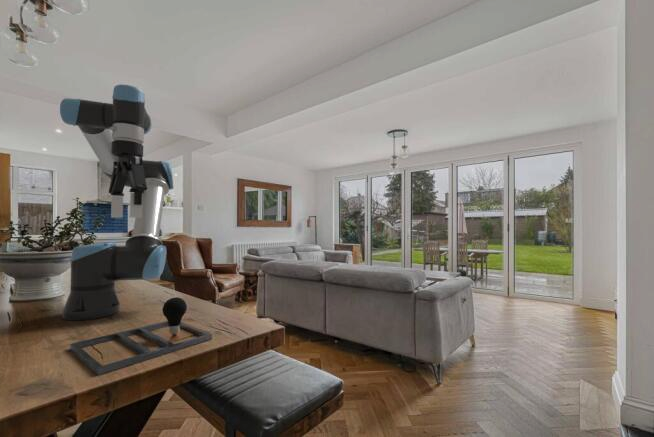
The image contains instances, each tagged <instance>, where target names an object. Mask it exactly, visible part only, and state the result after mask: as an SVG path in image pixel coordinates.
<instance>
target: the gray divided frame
mask: <svg viewBox="0 0 654 437" xmlns="http://www.w3.org/2000/svg"><path fill="white" fill-rule="evenodd" d="M166 327H169V324H168V320H165V321H162V322H161V321H160V322H157V323H154V324H149V325H145V326H141V327H136V328H132V329H128V330H124V331H119V332H115V333H110V334H106V335H101V336H98V337H94V338H93V337H92V338H90V339H86V340H81V341H78V342H73V343H70V344H69V350H70V351H71V352H72V353H73V354H74V355H75V356H76V357H77V358H79V360H81V362H83V363H84V364H85V365H86V366H87V367H88V368H90V370H91V371H93V373H95V374H96V375H97V376H101V375H103V374H106V373H110V372H112V371H116V370H120V369H122V368H125V367H129V366H131V365H134V364H137V363H141V362H144V361H146V360H147V361H148V360H150V359H153V358H156V357H159V356H162V355H166V354H169V353H172V352H175V351H179V350H181V349H185V348H188V347H190V346H194V345H198V344H202V343H205V342H206V341H210V340H213V334H212V333H211V332H207V331H205V330H203V329H200V328H197V327H196V326H193V325H191V324H188V323H185V322H183V321H181V323H180V326H179V332H178V333H177V334H176V335H172V334H171V333H169V330H168V331H165V332H160V333H158V334H157V333H156V334H155V333H153V332H151V331H154V330H156V329H157V330H158V329H161V328H166ZM138 334H139V335H141V336H143V337H145V338H146V339H148V340H150V341H152V342H153V343H155V344H158V345H159V346H161V348H157V349H154V350H150V349H149V348H147V347H145V346H144V345H142V344H140V343H139V342H137V341H135V340H134V339H132V338H131V337H129V336H133V335H138ZM194 335H196V336H197V337H194V338H193V337H192V336H194ZM189 337H192V338H190V339H187V340H184V341H181V342H178V343H177V342H176V343H173V342H175V341H179V340H181V339H184V338H189ZM113 340H118V341H120V342H121V343H122V344H125V346H128V347H129V348H131V349H132V350H134V351H136V352H137V353H138V355H134V356H132V357H127V358H124V359H121V360H118V361H117V360H116V361H114V362H110V363H108V364H105V365H104V364H103V365H102V364H100V362H99V361H97V360H96V359H95V358H94V357H92V356H91V355H90V354H89V353H88V352H87V351H85V349H83V348H86V347H89V346H94V345H96V344H97V345H98V344H101V343H105V342H106V343H107V342H110V341H113Z"/></svg>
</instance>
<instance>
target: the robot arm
mask: <svg viewBox="0 0 654 437" xmlns="http://www.w3.org/2000/svg"><path fill="white" fill-rule="evenodd" d="M111 99H112V103H109V102H108V103H107V102H101V101H93V100H89V99H87V100H86V99H81V98H67V97H65V98H64V99H62V100H61V102H60V106H59V114H60V118H61V119H62V122H64V124H67V125H70V126H74V127H76V126H77V127H78V128H79V130H80V131H81V132H82V134H83V136H84V138H85V139H86V141H87V143H88V144H89V146H90V148H91V150H92V151H93V152H94V154H95V156H96V158H97V159H98V160H99V162H98V165H99V168H100V170H101V171H102V172H103V174H105V175H106V177H108V178H109V179H110V184H109V187H108V188H109V189H108V194H110V195H111V202H110V203H111V206H110V207H111V210H110V217H111V218H117V219H118V218H119V219H120V218H121V219H123V215H124V214H123V213H124V211H123V210H124V196H125V194H124V189H125V187H127V188H128V187H129V188H130V189H129V191H128V192H129V193H130V194H129V197H130V198H129V199H130V200H129V218H134V224H133V230H132V233H131V236H130V237H128V238H127V240H126V241H125V245H120V246H119V245H117V242H115V241H110V242H101V243H91V244H86V245H85V244H83V245H78V246H76V247H74V248H73V249H72V251H71V257H70V259H71V260H70V290H69V295H68V297H67V300H66V302H65V304H64V307H63V308H62V316H61V318H62V319H63V320H66V321H85V320H93V319H99V318H104V317H108V316H111V315H115V314H117V313H119V312H120V311H121V302H120V299H119V297H118V294H117V292H116V289H115V287H116V286H115V285H116V284H115V283H116V282H117V281H137V280H138V281H139V280H143V281H147V280H153V279H158V278H159V277H161V275H162V274H163V272H164V269H165V265H166V261H167V247H166V246H165V245H164V243H163V242H162V240H161V239H160V231H161V224H162V223H161V222H162V216H163V207H164V202H165V200H164V199H165V196H166V195H167V194H168V193H169V191H170V190H173V189H174V180H173V170H172V164H171V163H170V162H167V161H161V160H159V161H156V160H146V159H145V160H144V159H143V157H144V145H143V144H144V142H145V135H146V134H148V133H150V131H151V129H152V120H151V117H150V116H149V114H148V112H147V109H146V106H145V103H146V99H145V93H144V91H143V90H142V89H141V88H138V87H136V86H133V85H129V84H117V85H115V86H114V87H113V91H112V98H111Z"/></svg>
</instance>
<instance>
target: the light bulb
mask: <svg viewBox="0 0 654 437" xmlns="http://www.w3.org/2000/svg"><path fill="white" fill-rule="evenodd" d="M187 308H188V306H187V302H186V300H184V299H183V298H181V297H177V296H176V297H171V298H169V299H168V300H166V301H165V302H164V304H163V306H162V314H163V316H164V318H166V321H168V324H169V326H168V328H169V329H168V331H169V333H171V334H172V335H176V334H177V333H178V332H179V328H180V327H179V326H180V323H181V322H182V319H183V317H184V316H185V314H186V312H187V311H188V310H187Z"/></svg>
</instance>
